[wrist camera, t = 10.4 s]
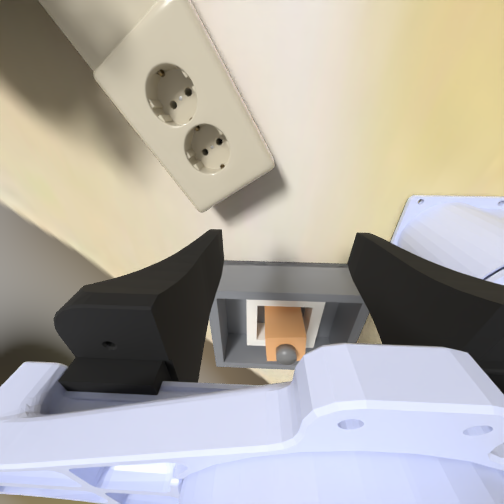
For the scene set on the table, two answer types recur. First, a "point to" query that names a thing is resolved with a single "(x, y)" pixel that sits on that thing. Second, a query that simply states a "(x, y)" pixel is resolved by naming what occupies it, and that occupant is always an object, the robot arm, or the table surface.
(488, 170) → the table surface
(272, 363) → the bay
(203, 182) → the electrical outlet
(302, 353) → the plug
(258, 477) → the robot arm
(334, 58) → the table surface
